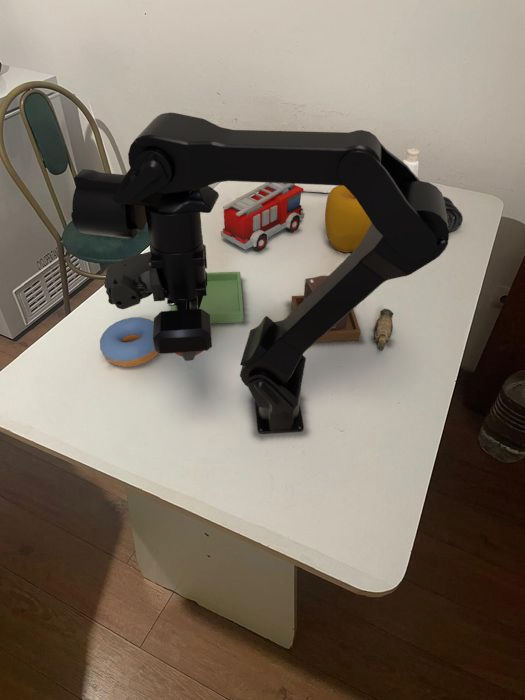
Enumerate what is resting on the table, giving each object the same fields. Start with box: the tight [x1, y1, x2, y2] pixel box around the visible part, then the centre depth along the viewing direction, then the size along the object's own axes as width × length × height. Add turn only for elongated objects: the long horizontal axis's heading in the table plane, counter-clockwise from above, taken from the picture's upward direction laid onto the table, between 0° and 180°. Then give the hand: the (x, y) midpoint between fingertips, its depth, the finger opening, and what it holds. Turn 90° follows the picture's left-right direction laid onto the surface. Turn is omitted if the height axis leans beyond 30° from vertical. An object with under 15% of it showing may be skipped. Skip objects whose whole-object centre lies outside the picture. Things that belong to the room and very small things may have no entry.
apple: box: [324, 186, 372, 253], centre depth 103 cm, size 11×11×13 cm
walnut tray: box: [290, 294, 361, 344], centre depth 88 cm, size 10×10×2 cm
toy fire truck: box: [220, 182, 305, 252], centre depth 107 cm, size 9×19×10 cm, turn 137°
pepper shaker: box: [402, 147, 420, 178], centre depth 120 cm, size 5×5×11 cm
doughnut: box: [99, 316, 159, 368], centre depth 82 cm, size 10×10×5 cm
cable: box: [443, 195, 464, 233], centre depth 113 cm, size 17×14×4 cm
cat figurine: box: [374, 308, 394, 352], centre depth 85 cm, size 3×8×4 cm, turn 165°
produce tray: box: [171, 271, 245, 325], centre depth 92 cm, size 12×12×2 cm
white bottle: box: [294, 184, 339, 194], centre depth 124 cm, size 6×13×4 cm, turn 81°
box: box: [303, 274, 348, 331], centre depth 86 cm, size 6×6×7 cm
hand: (188, 343), depth 67 cm, fingers closed on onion, 6 cm apart
